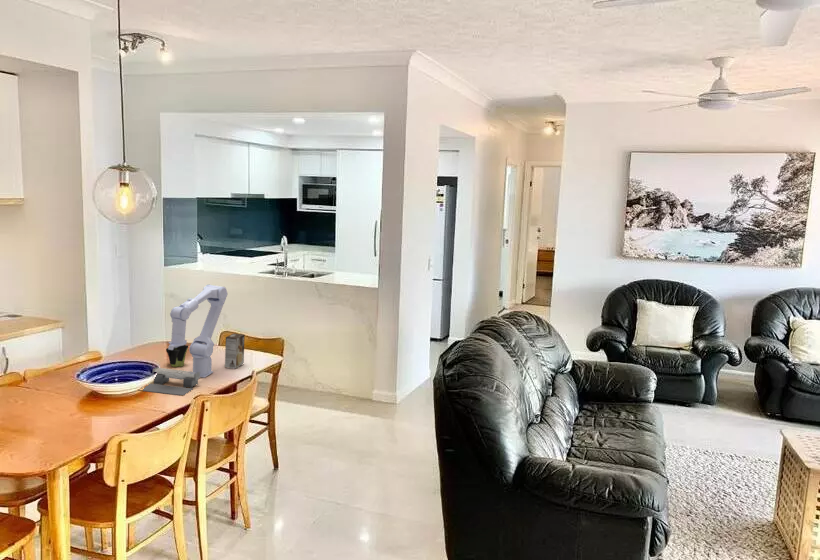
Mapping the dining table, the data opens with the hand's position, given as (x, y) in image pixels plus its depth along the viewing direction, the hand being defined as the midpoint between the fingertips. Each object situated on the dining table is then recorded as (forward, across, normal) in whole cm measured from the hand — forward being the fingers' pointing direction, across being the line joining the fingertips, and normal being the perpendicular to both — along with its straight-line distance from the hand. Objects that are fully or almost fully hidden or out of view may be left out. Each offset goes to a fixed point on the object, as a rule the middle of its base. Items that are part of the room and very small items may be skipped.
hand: (176, 362), depth 274 cm
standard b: (+10, -2, -7) cm, 12 cm away
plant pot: (+9, -28, -11) cm, 31 cm away
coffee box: (+8, -35, +15) cm, 39 cm away
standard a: (+10, -1, +7) cm, 12 cm away
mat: (+11, +8, 0) cm, 13 cm away
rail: (+7, -1, 0) cm, 7 cm away
